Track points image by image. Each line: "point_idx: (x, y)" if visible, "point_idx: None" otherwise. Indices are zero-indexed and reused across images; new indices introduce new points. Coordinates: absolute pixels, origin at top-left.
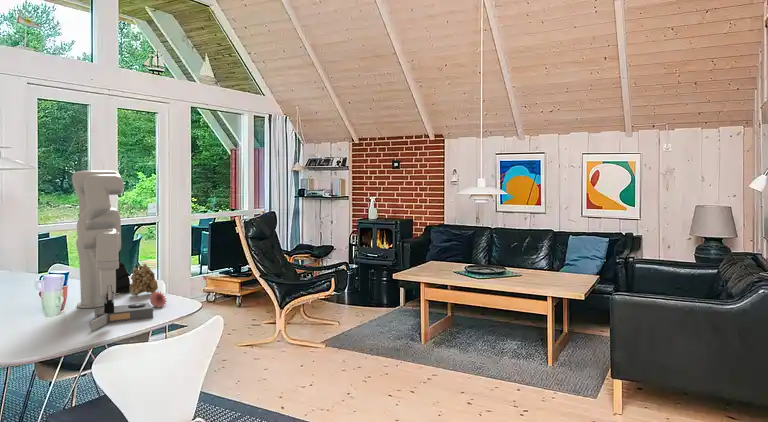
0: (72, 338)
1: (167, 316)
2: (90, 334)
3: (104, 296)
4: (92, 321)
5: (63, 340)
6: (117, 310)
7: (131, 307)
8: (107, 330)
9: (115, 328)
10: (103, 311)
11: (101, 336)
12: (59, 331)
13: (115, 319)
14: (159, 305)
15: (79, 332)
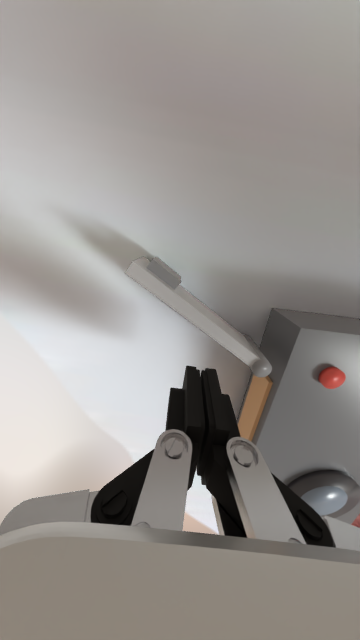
0: (38, 127)
1: (202, 503)
2: (84, 241)
3: (262, 513)
4: (126, 270)
5: (9, 54)
6: (306, 427)
7: (303, 478)
8: (121, 323)
9: (138, 356)
10: (328, 372)
11: (16, 279)
12: (278, 77)
13: (251, 385)
14: (354, 520)
15: (164, 196)
